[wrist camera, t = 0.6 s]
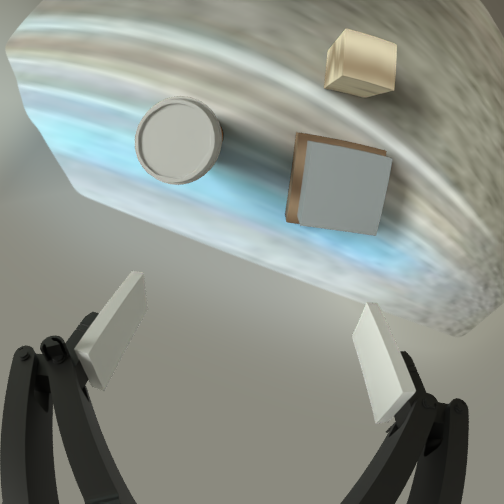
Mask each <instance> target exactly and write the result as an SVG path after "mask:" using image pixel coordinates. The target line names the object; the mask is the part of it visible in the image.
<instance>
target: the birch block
mask: <svg viewBox="0 0 504 504" xmlns="http://www.w3.org/2000/svg"><path fill="white" fill-rule="evenodd" d="M396 53H397V44H394V43H391V42H389V41H386V40H383V39H380V38H377V37H374V36H371V35H368V34H364V33H361V32H357V31H354V30H350V29H345V30H344V31H343V33H342V34H341V35H340V36H339V37H338V39H337V40H336V41H335V42H334V44H333V45H332V46H331V47H330V49H329V50H328V53H327V64H326V74H325V84H324V88H325V89H330V90H334V91H339V92H343V93H347V94H352V95H356V96H359V97H363V98H366V97H370V96H374V95H377V94H381V93H385V92H389V91H394V87H395V73H396Z"/></svg>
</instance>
